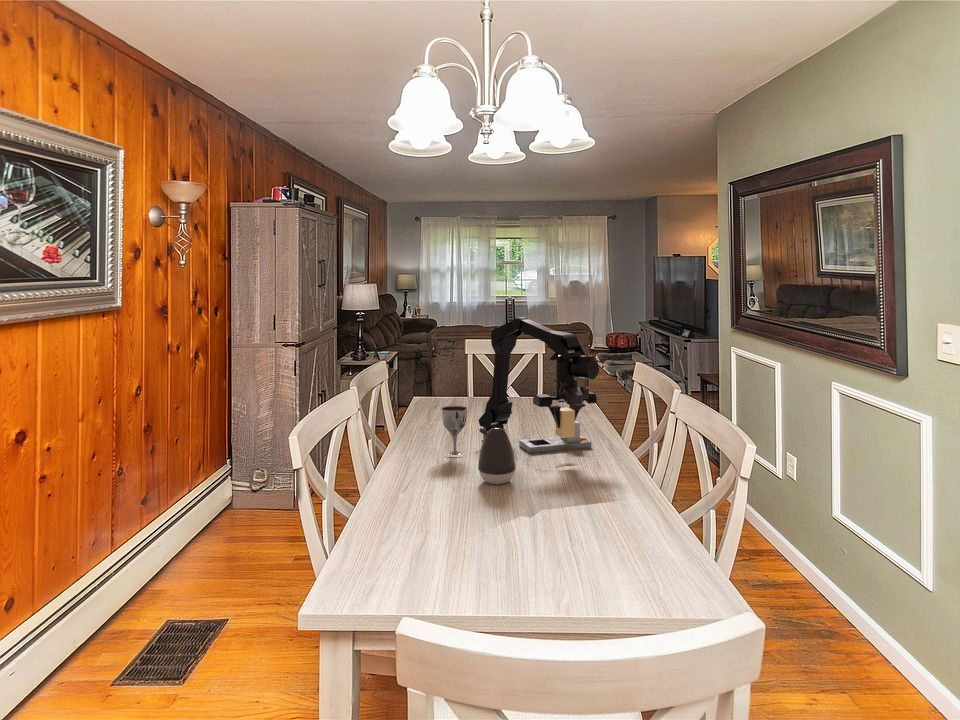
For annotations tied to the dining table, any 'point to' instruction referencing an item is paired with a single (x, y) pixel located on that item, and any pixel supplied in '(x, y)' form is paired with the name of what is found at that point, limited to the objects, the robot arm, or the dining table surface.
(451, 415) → the wine glass
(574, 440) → the grey-blue plug
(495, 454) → the dark grey egg shape
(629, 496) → the dining table surface
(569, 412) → the ochre plug
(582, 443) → the grey socket board
